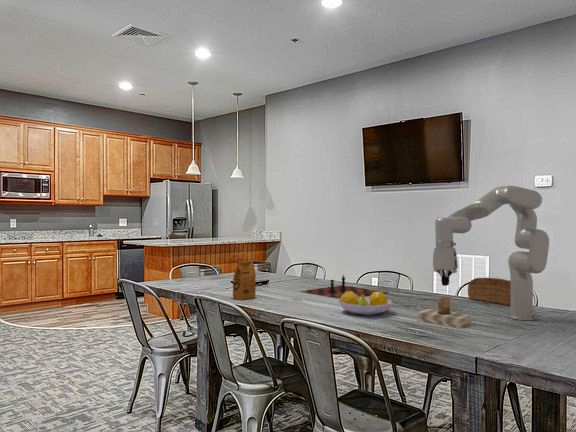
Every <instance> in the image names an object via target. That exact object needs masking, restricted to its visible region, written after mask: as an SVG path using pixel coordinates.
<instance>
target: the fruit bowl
mask: <svg viewBox="0 0 576 432" xmlns="http://www.w3.org/2000/svg"><path fill="white" fill-rule="evenodd" d="M337 301H338V304H339V305H340V306H341V308H342V309H343V310H345V311H347V312H349V313H351V314H353V315H360V314H361V316H373V315H378V314H382V313H384V312H385V311H387V310H389V309H390V308H391V306H392V300H391V299H388V298H387V295H386V294H384V293H383V292H373V293H372V294H371V295H370V296H367V297H364V295H362V297H358V295H356V294H355V293H353V292H352V291H349V292H346V293H344V294H343V295H342V296H341V298H340V299H338V300H337Z"/></svg>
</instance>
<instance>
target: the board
mask: <svg viewBox="0 0 576 432" xmlns="http://www.w3.org/2000/svg"><path fill="white" fill-rule="evenodd" d="M416 312H417V315H416V316H417V317H416V318H417V319H416V321H417V322H421V321H422V322H421V323H427V322H428V323H429V324H433V323H435V324H434V325H439V324H440V325H441V326H444V325H447V326H446V327H450V326H453V327H452V328H456V327H458V329H460V327H461V328H463V326H464V327H466V326H468V324H469V325H471V324H472V314H468V313H461V312H455V311H450V314H448V315H443V314H438V309H434V308H426V309H424V310H420V311H416ZM470 323H471V324H470ZM440 325H439V326H440ZM465 325H466V326H465Z"/></svg>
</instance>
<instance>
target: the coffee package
mask: <svg viewBox="0 0 576 432" xmlns="http://www.w3.org/2000/svg"><path fill="white" fill-rule="evenodd" d="M236 264H237V266H236V268H235V269H236V270H235V272H234V275H233V279H232V297H233V299H235V300H239V301H243V300H251V299H255V298H256V287H257V286H256V285H257V284H256V282H257V280H256V270H255V267H254V263H253V260H247V261H244V260H242V261H241V260H240V261H239V260H238V261H236Z"/></svg>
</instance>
